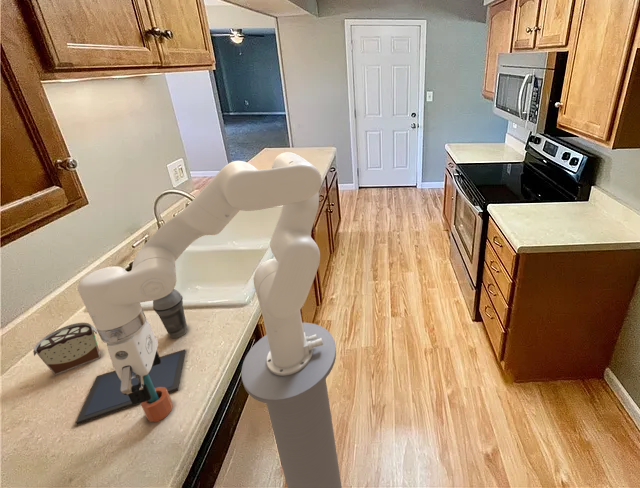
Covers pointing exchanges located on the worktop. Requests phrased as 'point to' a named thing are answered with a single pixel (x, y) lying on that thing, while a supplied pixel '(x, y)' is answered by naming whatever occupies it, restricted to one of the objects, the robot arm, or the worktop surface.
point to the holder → (158, 406)
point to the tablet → (108, 385)
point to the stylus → (150, 388)
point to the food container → (68, 347)
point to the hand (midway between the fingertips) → (148, 382)
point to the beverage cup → (172, 313)
